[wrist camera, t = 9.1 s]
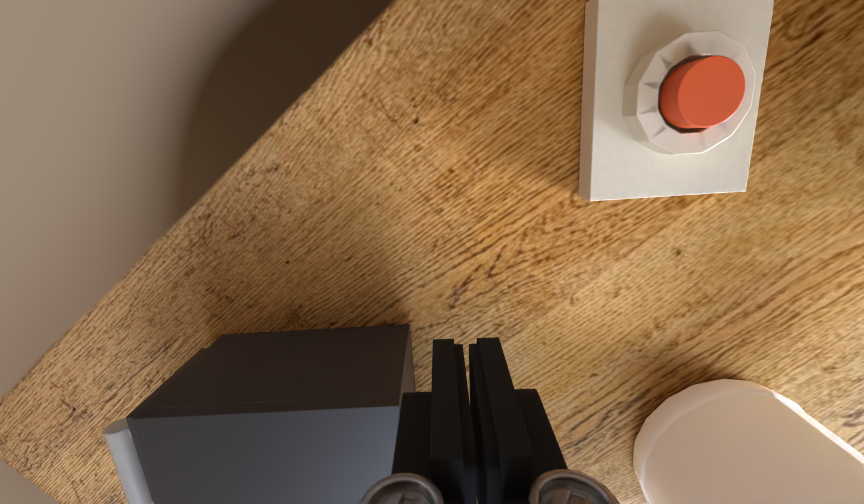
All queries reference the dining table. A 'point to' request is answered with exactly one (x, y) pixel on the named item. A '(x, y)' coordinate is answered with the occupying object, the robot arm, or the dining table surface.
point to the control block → (641, 89)
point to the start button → (703, 92)
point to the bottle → (742, 450)
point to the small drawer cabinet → (280, 418)
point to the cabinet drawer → (135, 450)
